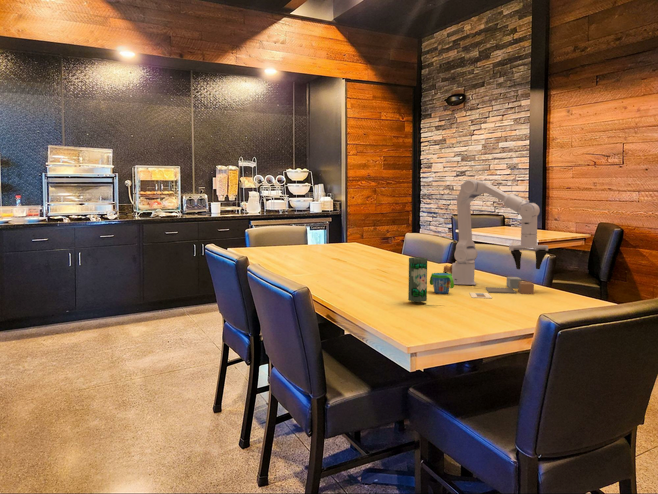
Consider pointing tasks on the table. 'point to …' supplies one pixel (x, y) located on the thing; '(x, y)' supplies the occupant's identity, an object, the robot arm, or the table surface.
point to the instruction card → (480, 295)
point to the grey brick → (513, 282)
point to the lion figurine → (447, 269)
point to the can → (417, 279)
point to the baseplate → (500, 290)
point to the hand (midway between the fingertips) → (528, 269)
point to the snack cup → (441, 282)
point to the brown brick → (525, 287)
